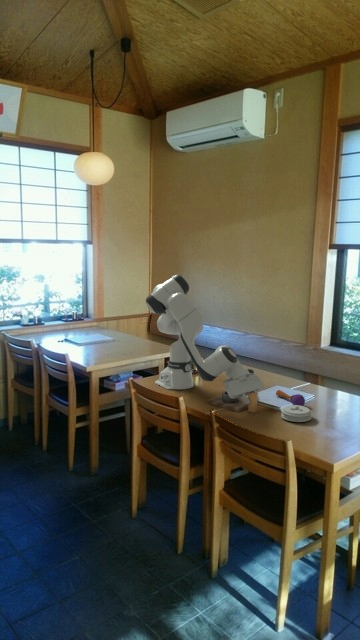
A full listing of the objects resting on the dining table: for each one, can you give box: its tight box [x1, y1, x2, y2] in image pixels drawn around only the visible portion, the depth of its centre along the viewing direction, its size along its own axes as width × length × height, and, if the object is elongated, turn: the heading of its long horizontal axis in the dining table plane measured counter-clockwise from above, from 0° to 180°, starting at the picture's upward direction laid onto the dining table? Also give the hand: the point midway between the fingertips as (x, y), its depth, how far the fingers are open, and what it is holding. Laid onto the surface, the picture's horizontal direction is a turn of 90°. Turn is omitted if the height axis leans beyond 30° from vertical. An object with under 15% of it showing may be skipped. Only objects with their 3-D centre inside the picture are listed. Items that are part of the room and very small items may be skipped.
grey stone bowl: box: [221, 390, 239, 403], centre depth 219 cm, size 8×8×4 cm
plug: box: [247, 393, 258, 414], centre depth 208 cm, size 4×4×8 cm
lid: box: [280, 404, 312, 423], centre depth 199 cm, size 13×13×5 cm
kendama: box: [275, 389, 306, 406], centre depth 221 cm, size 6×6×20 cm
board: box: [207, 395, 248, 413], centre depth 219 cm, size 18×14×2 cm
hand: (253, 401), depth 208 cm, fingers closed on plug, 4 cm apart
